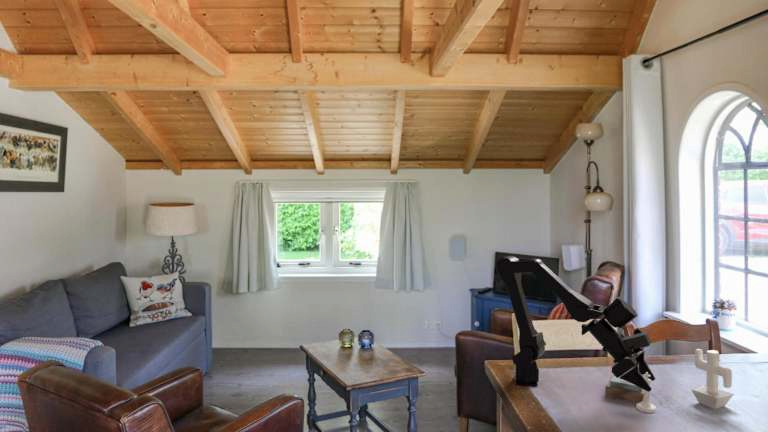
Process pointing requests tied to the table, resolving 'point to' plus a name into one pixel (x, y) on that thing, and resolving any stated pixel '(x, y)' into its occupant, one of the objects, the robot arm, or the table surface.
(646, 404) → the chess piece
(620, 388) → the stepped pedestal base
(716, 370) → the figurine
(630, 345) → the robot arm
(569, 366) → the table surface
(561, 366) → the table surface
